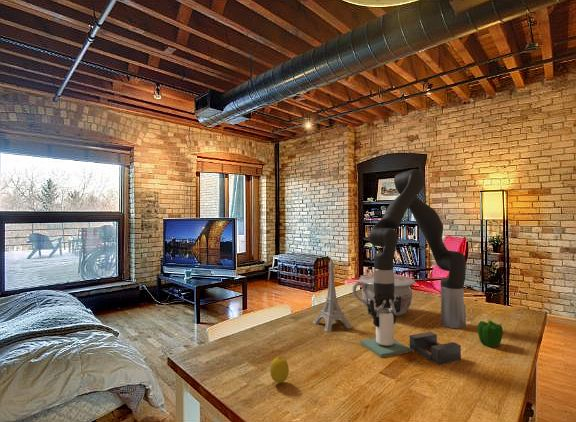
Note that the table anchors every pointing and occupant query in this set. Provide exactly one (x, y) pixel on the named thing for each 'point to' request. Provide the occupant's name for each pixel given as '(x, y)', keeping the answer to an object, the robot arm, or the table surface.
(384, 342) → the can
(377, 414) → the table surface
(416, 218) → the robot arm
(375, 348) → the mat
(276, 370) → the lemon
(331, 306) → the eiffel tower
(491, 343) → the bell pepper
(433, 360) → the block
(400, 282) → the chamber pot
